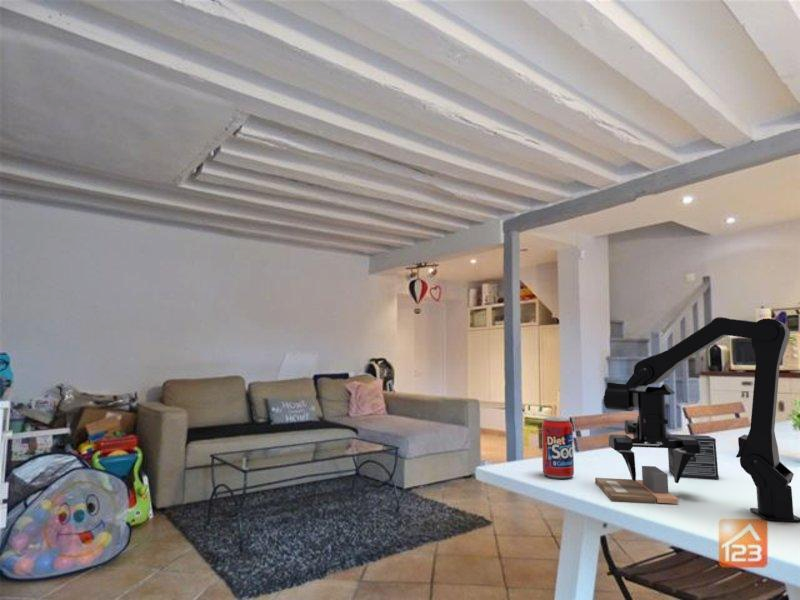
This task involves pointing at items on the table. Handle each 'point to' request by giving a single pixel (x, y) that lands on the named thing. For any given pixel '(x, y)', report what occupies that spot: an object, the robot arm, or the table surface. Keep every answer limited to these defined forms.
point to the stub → (656, 484)
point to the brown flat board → (624, 490)
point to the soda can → (557, 447)
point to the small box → (698, 459)
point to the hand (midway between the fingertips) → (655, 481)
